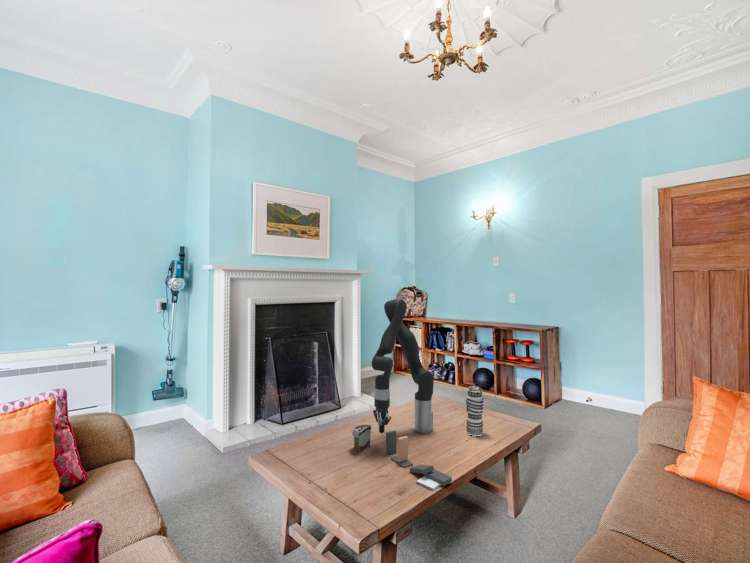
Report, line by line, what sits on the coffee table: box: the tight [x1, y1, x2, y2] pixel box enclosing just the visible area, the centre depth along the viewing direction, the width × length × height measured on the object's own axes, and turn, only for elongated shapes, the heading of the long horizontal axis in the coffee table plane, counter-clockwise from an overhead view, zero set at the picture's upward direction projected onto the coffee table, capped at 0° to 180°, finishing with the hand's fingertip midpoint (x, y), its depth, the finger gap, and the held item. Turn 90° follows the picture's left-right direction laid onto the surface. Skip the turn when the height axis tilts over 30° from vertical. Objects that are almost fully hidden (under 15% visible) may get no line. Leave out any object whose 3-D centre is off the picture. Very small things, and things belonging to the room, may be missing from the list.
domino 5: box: [424, 468, 453, 486], centre depth 151 cm, size 5×2×10 cm
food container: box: [351, 424, 372, 454], centre depth 180 cm, size 12×6×10 cm, turn 149°
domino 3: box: [390, 455, 414, 469], centre depth 166 cm, size 5×2×10 cm
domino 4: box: [408, 464, 435, 475], centre depth 155 cm, size 5×2×10 cm
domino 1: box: [385, 430, 397, 456], centre depth 175 cm, size 5×2×10 cm, turn 124°
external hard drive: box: [415, 475, 443, 492], centre depth 151 cm, size 2×8×12 cm
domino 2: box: [396, 435, 409, 462], centre depth 167 cm, size 5×2×10 cm, turn 125°
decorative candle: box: [465, 385, 484, 437], centre depth 199 cm, size 9×9×25 cm
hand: (381, 432), depth 182 cm, fingers closed
